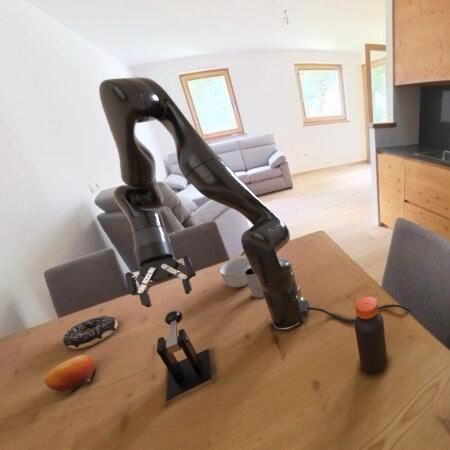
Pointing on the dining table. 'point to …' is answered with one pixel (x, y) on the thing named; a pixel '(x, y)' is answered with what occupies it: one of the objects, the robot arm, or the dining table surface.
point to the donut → (90, 332)
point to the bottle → (370, 336)
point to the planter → (254, 283)
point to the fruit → (70, 374)
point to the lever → (173, 331)
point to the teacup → (235, 272)
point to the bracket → (184, 366)
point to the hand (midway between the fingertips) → (169, 299)
